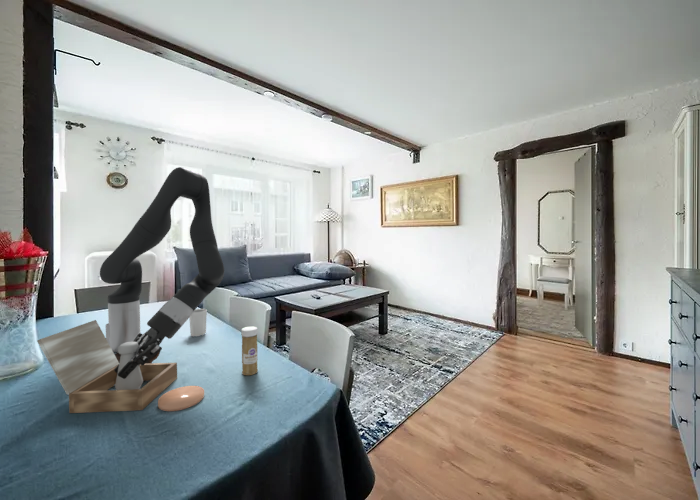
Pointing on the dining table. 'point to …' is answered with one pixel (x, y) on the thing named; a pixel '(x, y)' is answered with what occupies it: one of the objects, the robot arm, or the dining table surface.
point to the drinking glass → (198, 322)
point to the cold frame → (99, 372)
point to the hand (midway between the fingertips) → (119, 374)
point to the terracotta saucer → (181, 398)
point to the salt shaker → (135, 376)
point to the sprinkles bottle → (249, 350)
